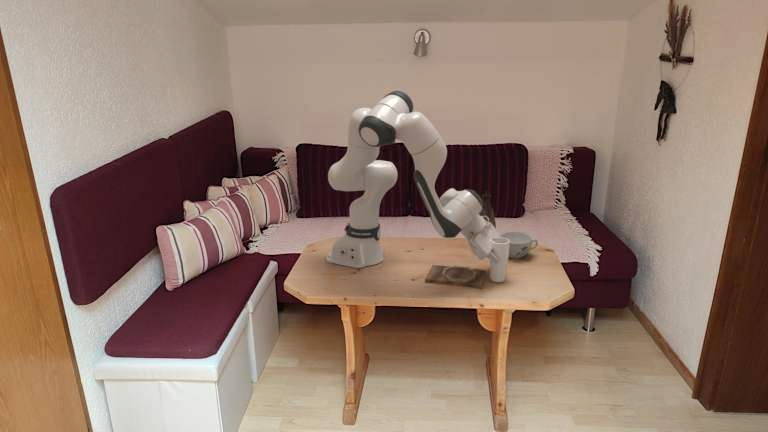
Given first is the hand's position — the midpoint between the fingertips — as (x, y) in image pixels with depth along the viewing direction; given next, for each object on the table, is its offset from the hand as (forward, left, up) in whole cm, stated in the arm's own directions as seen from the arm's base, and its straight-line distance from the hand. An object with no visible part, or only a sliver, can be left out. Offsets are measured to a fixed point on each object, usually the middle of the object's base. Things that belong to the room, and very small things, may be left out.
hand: (500, 258), depth 190 cm
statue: (-8, +25, -9) cm, 28 cm away
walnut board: (-15, -2, -8) cm, 17 cm away
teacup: (+5, +24, -9) cm, 26 cm away
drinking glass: (-1, 0, -9) cm, 9 cm away
